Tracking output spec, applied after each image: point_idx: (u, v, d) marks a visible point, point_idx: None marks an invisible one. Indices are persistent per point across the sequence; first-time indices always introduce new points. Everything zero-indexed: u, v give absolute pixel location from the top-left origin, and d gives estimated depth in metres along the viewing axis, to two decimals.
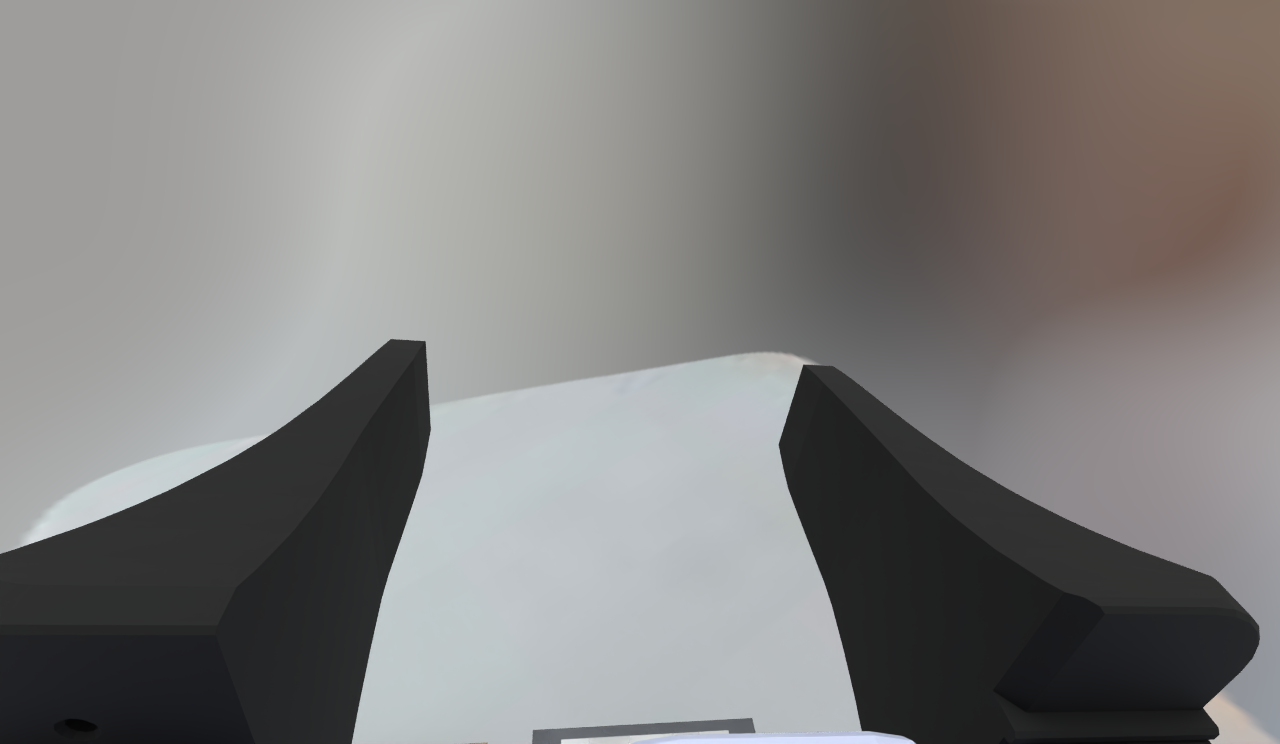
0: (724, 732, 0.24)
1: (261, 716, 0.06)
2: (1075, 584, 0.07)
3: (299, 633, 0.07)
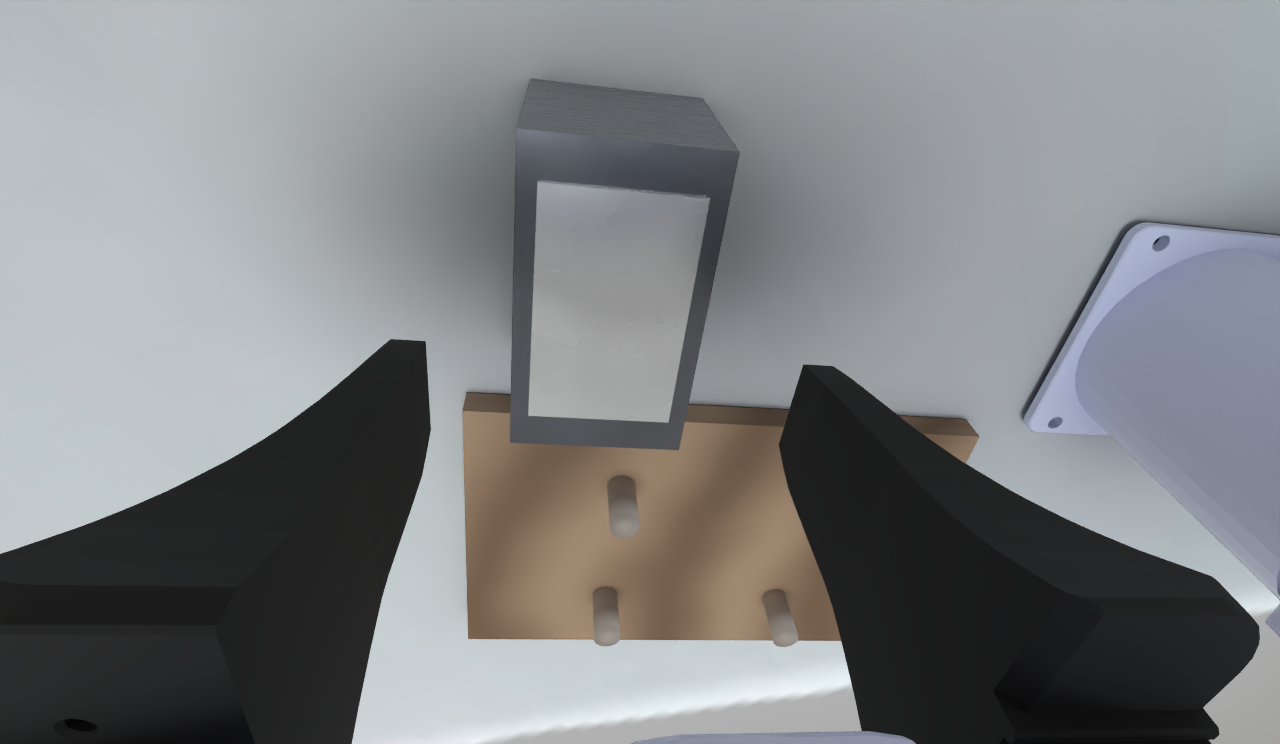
0: (540, 190, 0.14)
1: (261, 715, 0.06)
2: (1075, 584, 0.07)
3: (299, 633, 0.07)
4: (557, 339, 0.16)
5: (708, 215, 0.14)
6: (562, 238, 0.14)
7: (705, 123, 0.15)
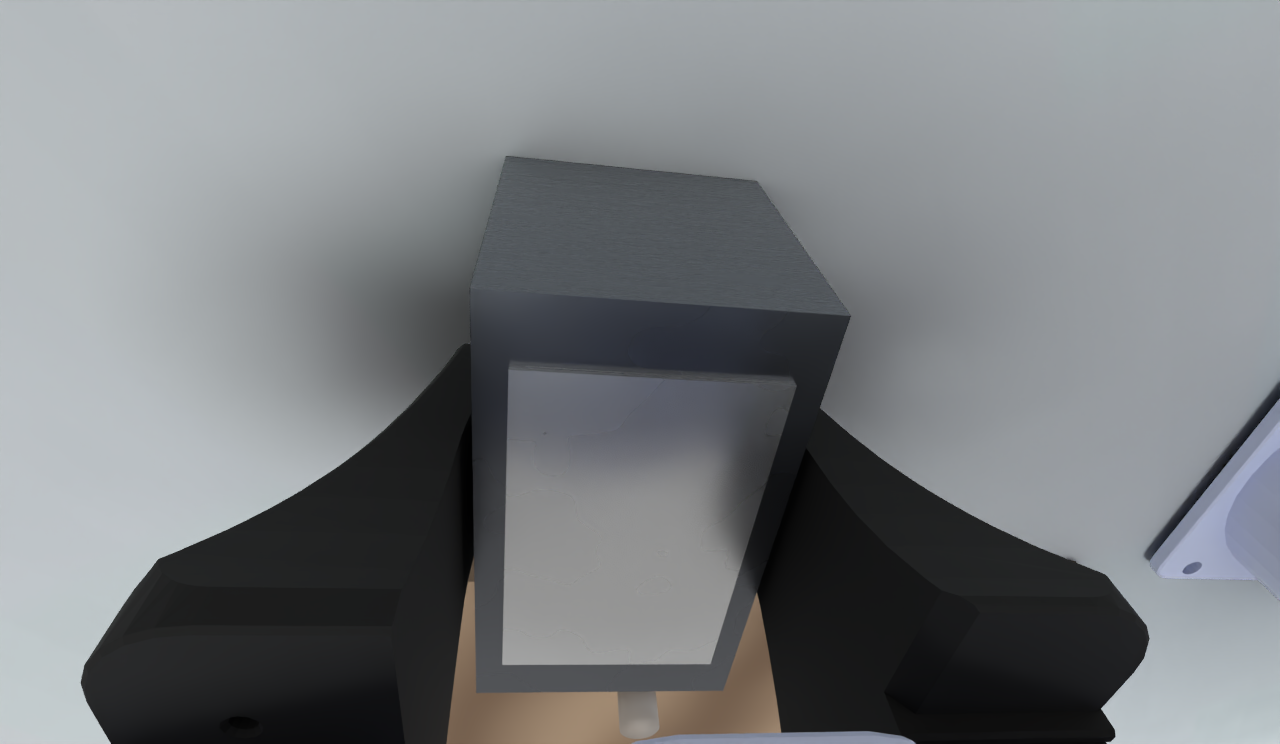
0: (514, 380, 0.08)
1: (408, 714, 0.06)
2: (957, 582, 0.07)
3: (427, 633, 0.07)
4: (545, 574, 0.10)
5: (791, 407, 0.09)
6: (551, 446, 0.09)
7: (777, 242, 0.10)
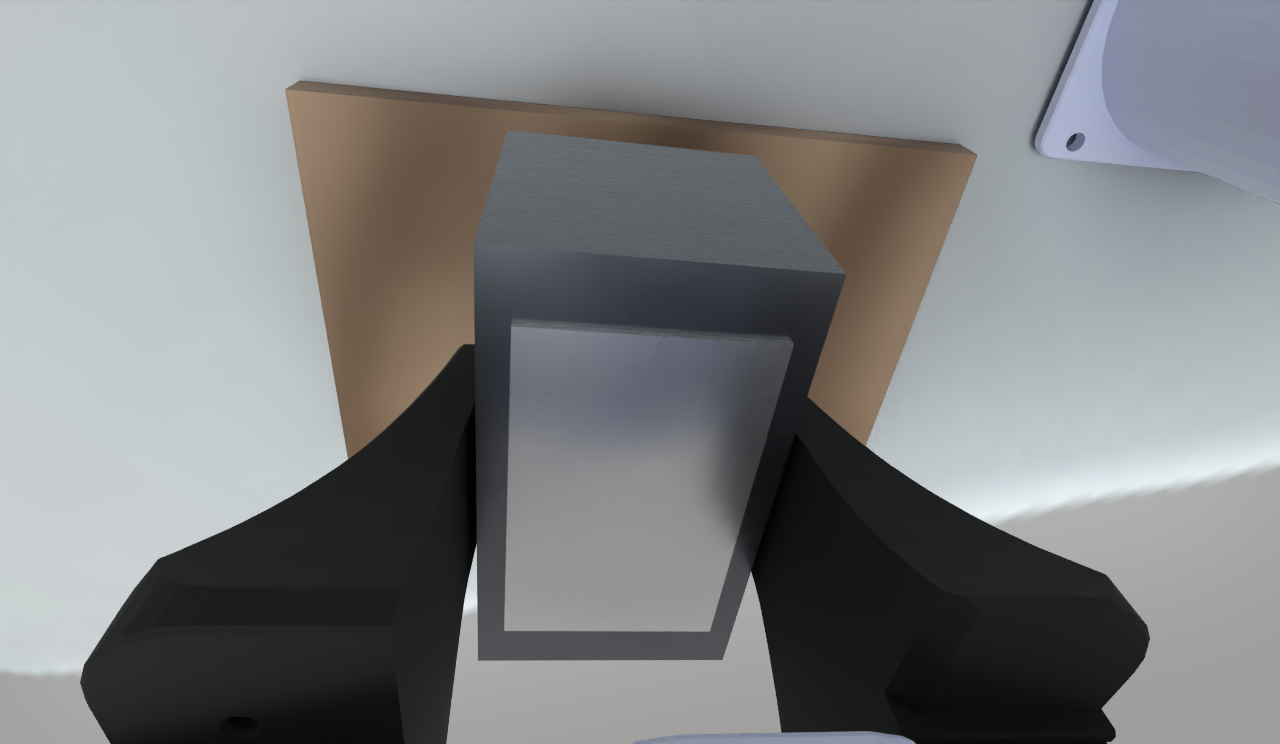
0: (516, 337, 0.08)
1: (408, 714, 0.06)
2: (957, 583, 0.07)
3: (427, 633, 0.07)
4: (546, 537, 0.10)
5: (788, 367, 0.09)
6: (553, 405, 0.09)
7: (775, 209, 0.10)
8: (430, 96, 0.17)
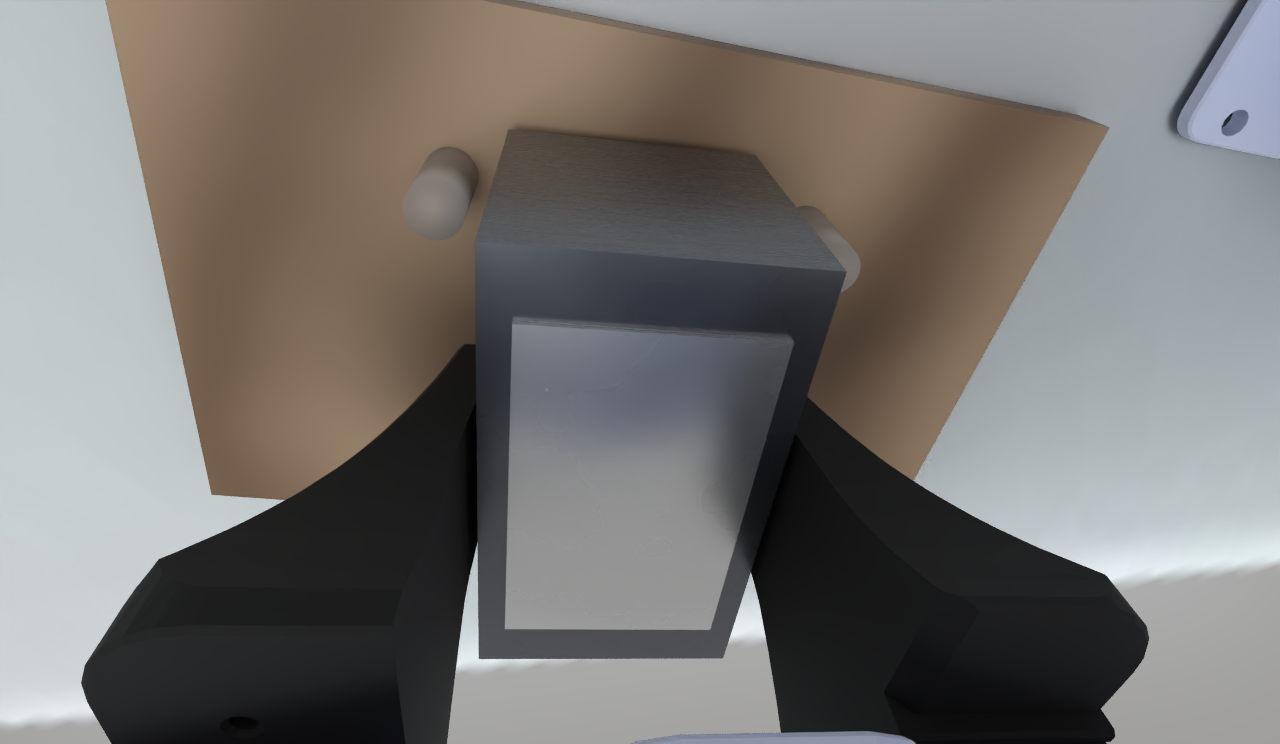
0: (517, 334, 0.08)
1: (409, 714, 0.06)
2: (956, 582, 0.07)
3: (427, 633, 0.07)
4: (547, 535, 0.10)
5: (789, 364, 0.09)
6: (554, 402, 0.09)
7: (775, 208, 0.10)
8: None
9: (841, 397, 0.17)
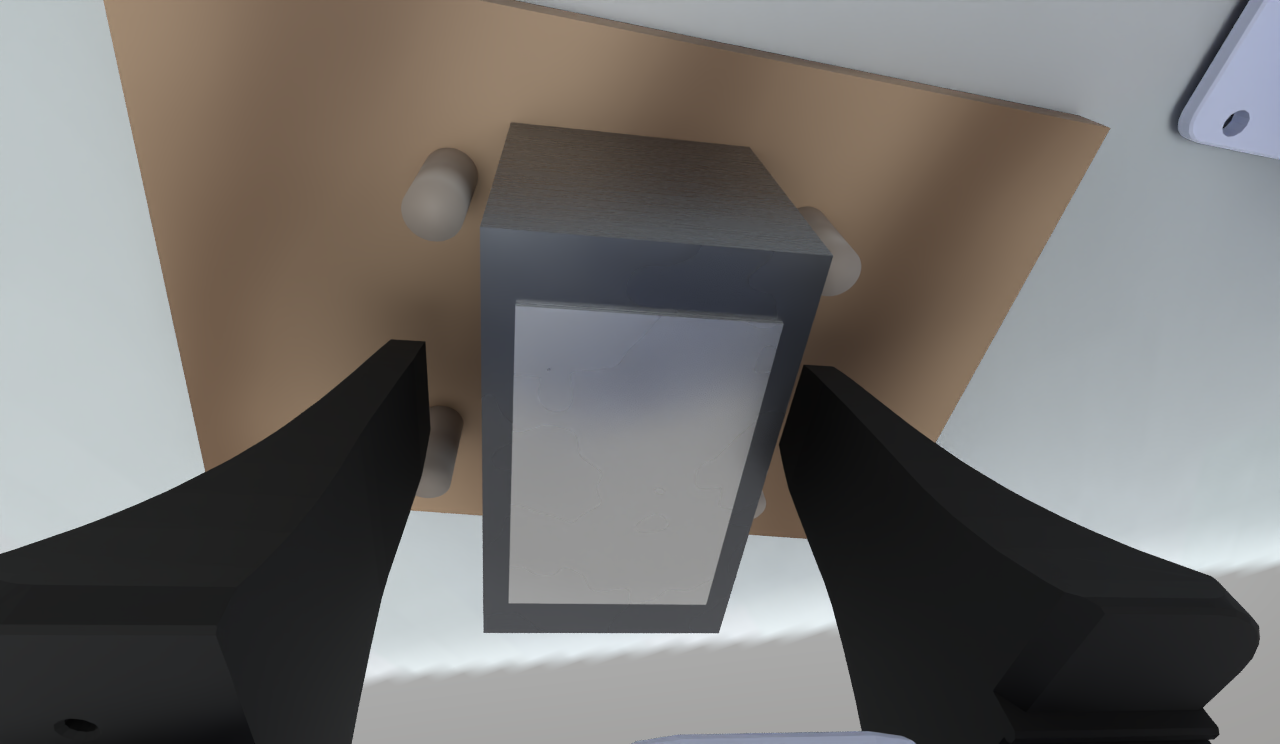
0: (520, 316, 0.09)
1: (261, 716, 0.06)
2: (1075, 584, 0.07)
3: (299, 633, 0.07)
4: (549, 510, 0.11)
5: (778, 345, 0.09)
6: (555, 382, 0.09)
7: (766, 196, 0.10)
8: None
9: None
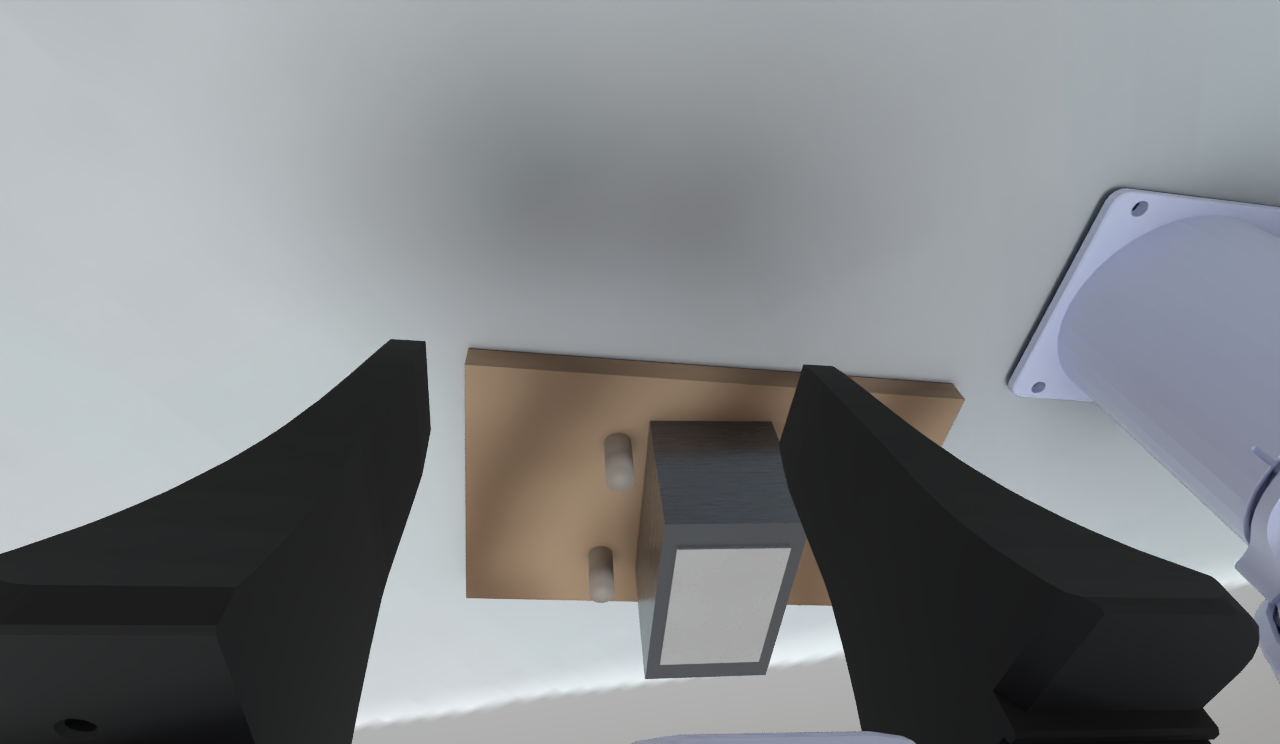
0: (678, 552, 0.21)
1: (261, 716, 0.06)
2: (1075, 584, 0.07)
3: (299, 633, 0.07)
4: (683, 623, 0.23)
5: (789, 554, 0.21)
6: (691, 574, 0.21)
7: (781, 475, 0.22)
8: (564, 360, 0.23)
9: None
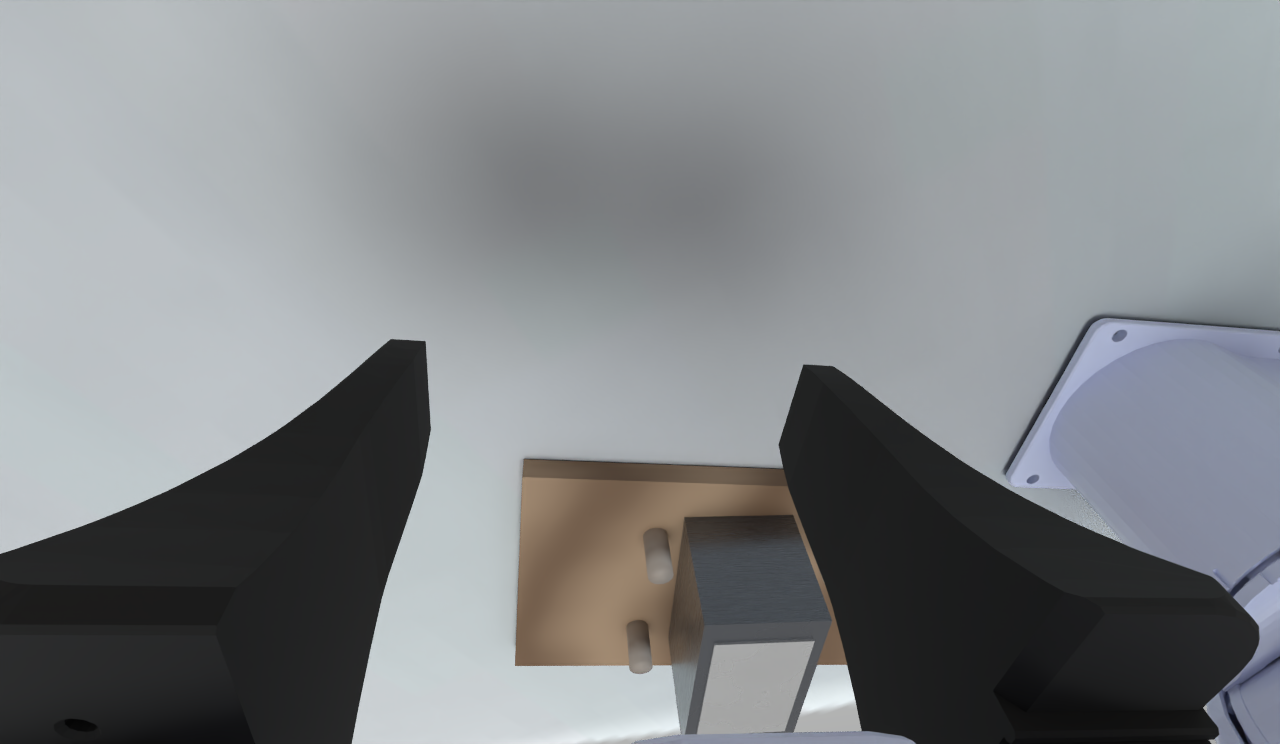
0: (716, 647, 0.23)
1: (261, 716, 0.06)
2: (1075, 584, 0.07)
3: (299, 633, 0.07)
4: (718, 702, 0.25)
5: (813, 645, 0.24)
6: (726, 664, 0.24)
7: (804, 571, 0.25)
8: (608, 468, 0.26)
9: None
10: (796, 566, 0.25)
